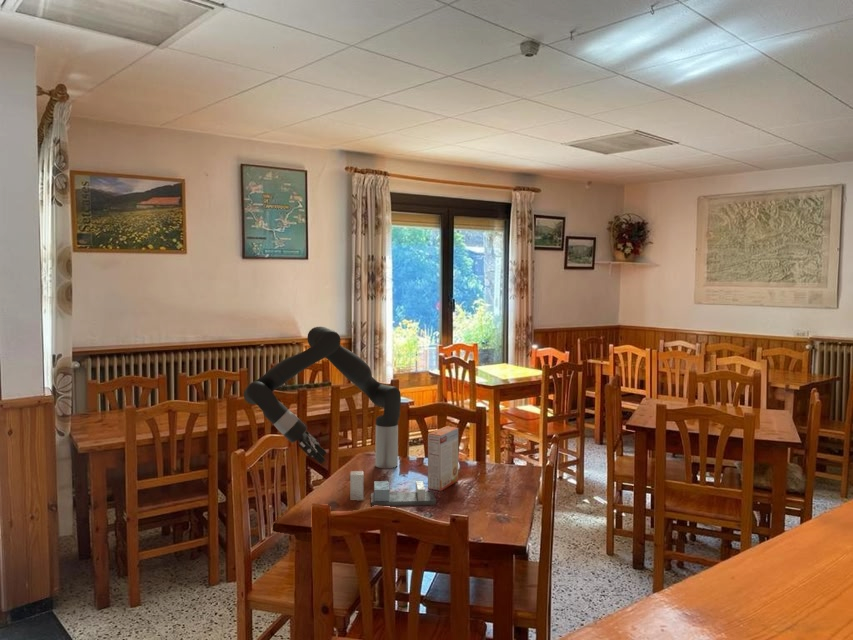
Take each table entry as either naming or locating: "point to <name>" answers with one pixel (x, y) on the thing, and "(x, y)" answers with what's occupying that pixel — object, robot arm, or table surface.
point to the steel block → (356, 485)
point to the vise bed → (408, 497)
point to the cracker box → (442, 458)
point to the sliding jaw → (381, 491)
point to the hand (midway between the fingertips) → (323, 458)
